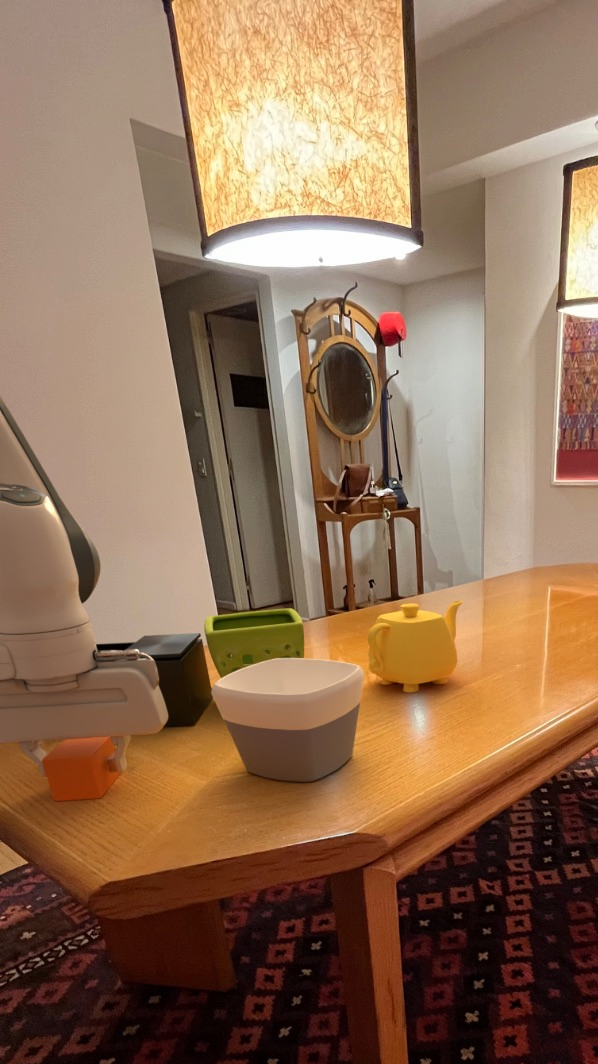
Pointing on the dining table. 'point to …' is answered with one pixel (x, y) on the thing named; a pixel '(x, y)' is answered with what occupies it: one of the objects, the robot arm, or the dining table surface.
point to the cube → (80, 768)
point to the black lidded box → (176, 673)
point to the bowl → (292, 715)
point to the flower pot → (253, 638)
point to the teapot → (413, 646)
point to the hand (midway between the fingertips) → (85, 772)
